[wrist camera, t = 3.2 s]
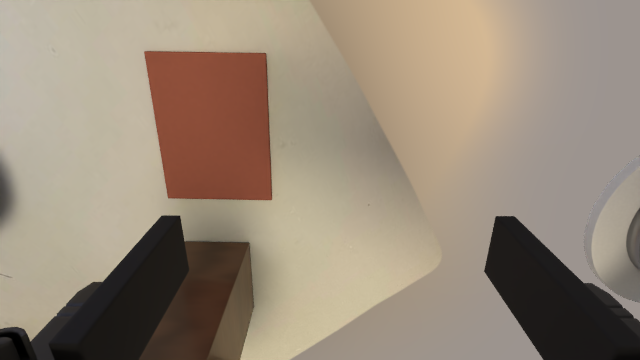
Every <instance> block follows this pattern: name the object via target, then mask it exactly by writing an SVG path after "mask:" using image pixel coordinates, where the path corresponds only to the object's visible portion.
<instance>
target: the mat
mask: <svg viewBox="0 0 640 360" xmlns="http://www.w3.org/2000/svg"><path fill="white" fill-rule="evenodd" d="M144 53H145V59H146V65H147V71H148V77H149V84H150V90H151V96H152V102H153V108H154V114H155V120H156V126H157V133H158V139H159V145H160V151H161V157H162V163H163V169H164V176H165V182H166V188H167V194H168V198H185V199H237V200H272V187H271V163H270V138H269V114H268V89H267V64H266V53H213V52H151V51H145V52H144Z"/></svg>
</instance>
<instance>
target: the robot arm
mask: <svg viewBox="0 0 640 360" xmlns="http://www.w3.org/2000/svg"><path fill="white" fill-rule="evenodd" d="M626 247H627V253H628V256H629V258H630V260H631V262H632V263H633V265H634V266H635V267H636V268H637V269H638V270H639V271H640V208H639V210H638V211H637V213H636V214H635V216H634V218H633V219H632V222H631V224H630V227H629V230H628V233H627V240H626ZM188 272H189V265H188V259H187V253H186V247H185V241H184V236H183V230H182V224H181V218H180V216H161V217H160V218H159V219H158V220H157V222H156V223H155V224H154V225H153V226H152V227H151V228H150V229H149V231H148V232H147V233H146V234H145V235H144V236H143V237H142V239H141V240H140V241H139V242H138V243H137V244H136V245H135V246H134V248H133V249H132V250H131V251H130V252H129V253H128V254H127V255H126V257H125V258H124V259H123V260H122V261H121V262H120V263H119V264H118V266H117V267H116V268H115V269H114V270H113V271H112V272H111V273H110V275H109V276H108V277H107V278H106V279H105V280H104V281H103V282H93V283H91V284H90V285H88V286H87V287H85V288H84V289H82V290H80V291H79V292H77V293H76V295H75V296H74V297H73V298H72V299H71V300H70V301H69V302H68V303H67V304H66V307H63V308H62V309H61V310H60V311H59V312H58V313H57V316H55V317H54V318H53V319H52V320H51V321H50V322H49V323H48V324H47V325H46V326H45V327H44V328H43V329H42V330H41V331H40V332H39V333H38V335H37V336H36V337H35V338H34V339H33V340H32V341H31V342H30V340H29V337H28V335H27V333H26V331H25V330H24V329H22V328H19V327H9V328H3V329H0V360H139V358H140V357H141V355H142V353H143V351H144V350H145V348H146V346H147V344H148V343H149V341H150V339H151V337H152V335H153V334H154V332H155V330H156V328H157V327H158V325H159V323H160V321H161V320H162V318H163V316H164V314H165V313H166V311H167V309H168V307H169V305H170V304H171V302H172V300H173V298H174V297H175V295H176V293H177V291H178V290H179V288H180V286H181V284H182V283H183V281H184V279H185V277H186V276H187V274H188ZM484 272H485V273H486V275H487V276H488V278H489V279H490V281H491V282H492V284H493V285H494V287H495V288H496V290H497V291H498V292H499V294H500V295H501V297H502V299H503V300H504V302H505V303H506V305H507V306H508V308H509V309H510V310H511V312H512V313H513V315H514V316H515V318H516V319H517V321H518V322H519V324H520V325H521V327H522V328H523V330H524V331H525V333H526V334H527V336H528V337H529V339H530V340H531V341H532V343H533V345H534V346H535V348H536V349H537V351H538V352H539V354H540V355H541V357H542V358H543V360H640V322H639V321H638V320H637V319H634V317H633V315H632V314H631V313H629V311H627V310H626V309H625V308H623V307H622V305H621V304H620V303H619V302H618V301H617V300H615V299H614V298H613V297H612V296H611V295H610V294H609V293H607V292H605V291H604V290H602V289H600V288H599V287H597V286H595V285H593V284H592V283H583V282H582V281H581V280H580V279H579V278H578V277H577V276H576V275H574V273H572V272H571V271H570V270H569V269H568V268H567V267H566V266H565V265H564V264H563V263H562V262H561V261H560V260H559V259H558V258H557V257H556V256H555V255H554V254H553V253H552V252H551V251H550V250H549V249H548V248H547V247H545V245H543V244H542V243H541V242H540V241H539V240H538V239H537V238H536V237H535V236H534V235H533V234H532V233H531V232H530V231H529V230H528V229H527V228H526V227H525V226H524V225H523V224H522V223H521V222H520V221H519V220H518V219H517V218H516V217H514V216H496V218H495V223H494V227H493V232H492V237H491V242H490V247H489V252H488V256H487V261H486V266H485V270H484Z"/></svg>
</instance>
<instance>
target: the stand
mask: <svg viewBox="0 0 640 360" xmlns="http://www.w3.org/2000/svg"><path fill="white" fill-rule="evenodd" d="M185 247H186V253H187V259H188V265H189V272H188V274H187V276H186V277H185V279H184V281H183V283H182V284H181V286H180V288H179V290H178V291H177V293H176V295H175V297H174V298H173V300H172V302H171V304H170V305H169V307H168V309H167V311H166V313H165V314H164V316H163V318H162V320H161V321H160V323H159V325H158V327H157V328H156V330H155V332H154V334H153V335H152V337H151V339H150V341H149V343H148V344H147V346H146V348H145V350H144V351H143V353H142V355H141V357H140V358H139V360H240V357H241V354H242V350H243V346H244V342H245V338H246V335H247V331H248V327H249V323H250V319H251V316H252V312H253V308H254V302H253V288H252V274H251V260H250V246H249V243H232V242H185Z"/></svg>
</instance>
